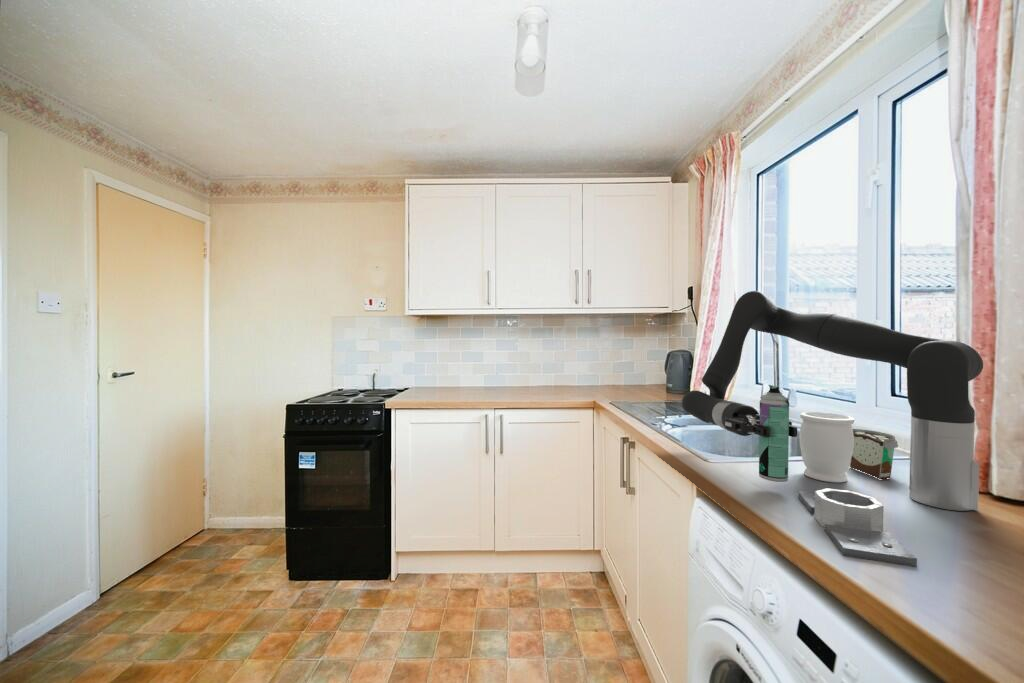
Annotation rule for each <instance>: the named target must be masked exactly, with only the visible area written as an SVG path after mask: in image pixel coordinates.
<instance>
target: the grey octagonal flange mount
mask: <svg viewBox="0 0 1024 683" xmlns="http://www.w3.org/2000/svg"><path fill="white" fill-rule="evenodd" d="M797 496H798V498H799V500H800V501H801V502H802V503H803V505H804V506H805V507H806V509H807V510H808V512H809V513H810V514H814V515H813V516H814V519H815V521H816V522H817V523H818V525H819V526H820V525H821V527H822V526H823V528H824V532H825V533H826V535H827V534H828V535H829V536H828V535H827V536H828V537H829V538H830V540H831V539H832V540H831V542H833V544H834V543H835V544H836V545H835V544H834V545H835V547H838V548H839V549H838V548H837V549H838V550H839V551H840V553H841V552H842V553H841V554H842V555H843V556H844V555H845V556H844V557H849V556H852V557H851V558H856V557H857V558H858V559H862V558H864V560H869V561H874V562H875V561H876V562H882V561H883V562H882V563H888V562H889V563H890V564H896V565H901V566H902V565H903V566H910V567H915V568H918V558H917V557H916V556H914V555H913V554H912V553H911V551H909V550H908V549H907V548H906V547H905V546H904V545H903V544H902V543H901V542H899V541H898V540H897V539H896V538H895V537H894V536H893V535H892V534H891V533H890V532H885V531H884V504H882V503H881V502H879V500H877V499H876V498H875V497H873V496H869V495H865V494H862V493H859V492H856V491H852V490H844V489H839V488H838V489H836V488H828V487H827V488H823V489H819V490H815V491H814V492H809V491H801V490H800V491H799V490H798V492H797Z"/></svg>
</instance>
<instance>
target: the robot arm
mask: <svg viewBox="0 0 1024 683" xmlns="http://www.w3.org/2000/svg"><path fill="white" fill-rule="evenodd" d="M750 329H751V330H754V331H757V332H762V333H766V334H772V335H778V336H782V337H785V338H788V339H792V340H795V341H797V342H800V343H803V344H806V345H809V346H812V347H815V348H817V349H820V350H824V351H827V352H830V353H834V354H836V355H837V354H838V355H841V356H845V357H846V356H847V357H849V358H856V359H860V360H868V361H875V362H880V363H881V362H882V363H888V364H891V365H895V366H898V367H901V368H904V369H906V390H907V391H906V395H907V396H906V397H907V402H908V405H909V407H910V410H911V411H910V412H911V413H910V414H911V415H910V452H909V454H910V455H909V460H910V461H909V485H908V486H909V487H908V489H909V490H908V493H909V494H908V496H909V498H910V499H911V500H914V501H915V502H917V503H920V504H922V505H926V506H929V507H934V508H939V509H942V510H943V509H944V510H949V511H957V512H959V511H960V512H964V511H965V512H967V511H979V494H980V493H979V492H980V491H979V489H980V488H979V487H980V462H978V460H975V459H974V453H975V450H974V449H975V420H976V418H975V416H976V415H975V414H976V412H975V408H974V406H972V405H971V402H970V400H969V398H970V397H969V382H971V381H973V380H974V379H975V378H977V377H978V376H979V375H980V374H981V373H982V371H983V369H984V361H983V358H982V356H981V355H980V353H979V352H978V351H977V350H976V349H974V348H973V347H972V346H970V345H968V344H966V343H965V342H961V341H957V340H956V341H955V340H949V339H948V340H946V339H940V338H932V337H927V336H920V335H915V334H908V333H905V332H900V331H899V330H894V329H891V328H889V327H885V326H882V325H879V324H876V323H872V322H869V321H865V320H862V319H858V318H854V317H850V316H845V315H843V314H837V313H832V312H827V311H826V312H822V311H820V312H819V311H818V312H804V313H802V312H797V311H794V310H791V309H786V308H783V307H781V306H778V305H776V304H775V303H774V302H773V301H772V300H771V299H770V298H769V297H768V296H767V295H766V294H764V293H763V292H761V291H758V290H752V291H748V292H747V291H746V292H745V293H743V294H742V295H741V296H740V297H739V298H738V300H737V301H736V303H735V304H734V306H733V310H732V312H731V315H730V318H729V321H728V324H727V326H726V328H725V332H724V335H723V336H722V339H721V342H720V344H719V346H718V349H716V350H717V351H716V353H715V355H714V356H713V358H712V360H711V362H710V364H709V365H708V367H707V369H706V370H705V372H704V374H703V375H702V378H701V382H702V384H703V385H704V386H705V387H706V388H708V390H709V394H707V393H705V392H703V391H700V390H695V389H694V390H691V391H688V392H686V393H685V394H684V396H683V397H682V400H681V405H682V409H683V410H684V411H685V412H686V413H687V414H689V415H691V416H692V417H695V418H696V419H698V420H701V421H702V422H704V423H707V424H713V425H715V426H718V427H720V428H722V430H723V429H724V430H726V431H727V432H731V433H732V434H736V435H737V436H738V435H739V436H741V437H748V436H752V435H753V436H755V435H757V436H759V435H760V436H763V437H766V438H768V437H770V428H769V427H767V426H763V425H760V412H758V410H757V409H756V408H755V407H754V406H752V405H748V404H744V403H741V402H736V401H732V400H725V398H726V393H727V390H728V388H729V385H730V384H731V382H732V380H733V379H734V378H735V375H736V374H737V371H738V369H739V366H740V363H741V358H742V353H743V348H744V344H745V341H746V339H747V338H746V337H747V335H748V333H749V331H750ZM792 424H793V421H790V420H789V437H792V438H797V436H798V427H797V426H794V425H792Z"/></svg>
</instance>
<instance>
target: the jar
mask: <svg viewBox="0 0 1024 683" xmlns="http://www.w3.org/2000/svg"><path fill="white" fill-rule="evenodd" d="M799 417H800V418H801V419H802V422H801V423H800V428H799V436H798V437H799V448H800V450H801V451H800V453H801V459H802V461H803V464H804V466H805V467H806V468H805V469H804V470H803V474H804V475H805V476H806V477H808V478H811V479H814V480H817V481H821V482H826V483H835V484H837V483H845V482H847V481H848V476H847V475H846V473H847V471H848V470H849V469H850V463H851V457H852V454H853V450H854V435H853V430H852V429H853V428H852V425H853V424H855V418H854V417H852V416H848V415H846V414H845V415H844V414H840V413H839V414H837V413H831V412H820V411H807V412H805V411H804V412H800V414H799Z"/></svg>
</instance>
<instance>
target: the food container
mask: <svg viewBox="0 0 1024 683" xmlns="http://www.w3.org/2000/svg"><path fill="white" fill-rule="evenodd" d="M852 430H853V435H854V450H853V454H852V457H851V463H850V466H849V468H850V467H851V468H854V469H857V470H860V471H862V472H865V473H867V474H870V475H872V476H875V477H877V478H879V479H887V478H890V479H891V477H892V476H891V475H892V468H893V460H894V453H895V449H896V448H898V447H899V444H898V440H897V438H896V436H894V435H892V434H889V433H886V432H882V431H875V430H870V429H860V428H852ZM851 468H850V469H851ZM854 469H853V470H854Z"/></svg>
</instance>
